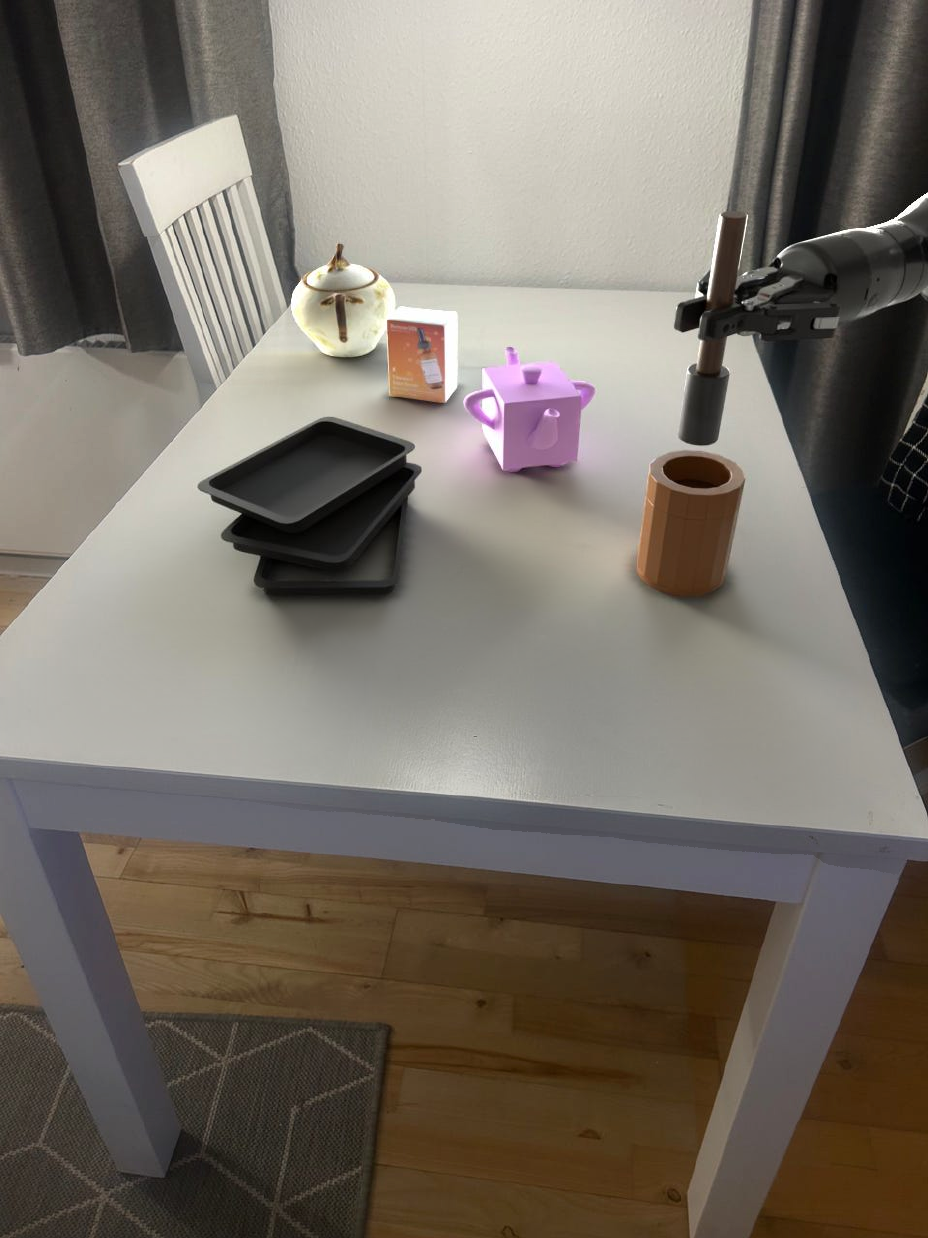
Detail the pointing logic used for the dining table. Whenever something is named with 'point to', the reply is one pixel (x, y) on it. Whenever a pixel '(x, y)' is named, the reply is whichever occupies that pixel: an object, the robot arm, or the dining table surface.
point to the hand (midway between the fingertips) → (691, 323)
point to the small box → (422, 354)
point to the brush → (708, 373)
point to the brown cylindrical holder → (689, 522)
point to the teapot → (530, 413)
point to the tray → (317, 502)
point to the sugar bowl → (343, 307)
